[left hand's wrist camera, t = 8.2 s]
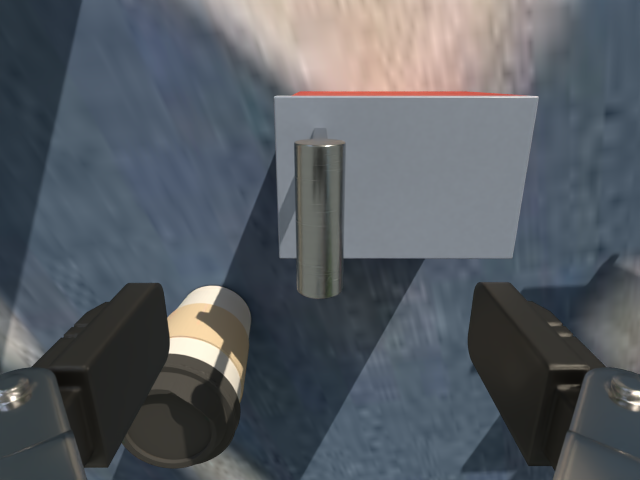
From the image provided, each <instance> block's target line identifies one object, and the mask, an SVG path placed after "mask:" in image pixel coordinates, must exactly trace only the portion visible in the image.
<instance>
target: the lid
mask: <svg viewBox="0 0 640 480" xmlns="http://www.w3.org/2000/svg"><path fill="white" fill-rule="evenodd" d="M538 99H539V97H537V96H275V97H274V120H275V149H276V177H277V206H278V235H279V258H296V265H297V290H298V292H299V293H300V294H301V295H303V296H306V297H309V298H314V299H326V298H331V297H334V296H337V295H338V294H340V293H341V292H342V290H343V261H344V258H389V259H512V256H513V250H514V244H515V238H516V232H517V226H518V220H519V214H520V208H521V202H522V196H523V190H524V183H525V177H526V171H527V165H528V159H529V153H530V147H531V141H532V135H533V129H534V123H535V117H536V111H537V105H538Z"/></svg>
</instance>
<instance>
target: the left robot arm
mask: <svg viewBox="0 0 640 480" xmlns="http://www.w3.org/2000/svg"><path fill="white" fill-rule="evenodd" d="M169 349H170V334H169V327H168V320H167V313H166V305H165V298H164V292H163V288H162V286H161V284H159V283H128V284H126V285H125V286H124V287H123V288H122V289H121V290H120V291H119V293H118V294H117V295H116V296H115V297H114V298H113V299H112V300H111V301H110V302H105V303H103V304H101V305H99V306H97V307H96V308H94V309H92V310H90V311H88V312H87V313H86V314H85V315H84V316H83V317H82V318H81V319H80V320H79V321H77V322H76V323H75V324H74V327H71V328H70V329H69V330H68V331H67V332H66V333H65V334H64V338H60V339H59V340H58V341H57V342H56V343H55V344H54V345H53V346H52V347H51V348H50V349H49V350H48V351H47V352H46V353H45V354H44V355H43V356H42V357H41V358H40V359H39V360H38V361H37V362H36V363H35V364H34V365H33V366H32V367H30V368H22V369H17V370H13V371H10V372H6V373H4V374H1V375H0V480H87V477H86V474H85V471H84V468H108V467H109V465H110V463H111V461H112V459H113V458H114V456H115V454H116V452H117V450H118V448H119V447H120V445H121V443H122V441H123V439H124V437H125V436H126V434H127V432H128V430H129V428H130V427H131V425H132V423H133V421H134V419H135V417H136V416H137V414H138V412H139V410H140V408H141V407H142V405H143V403H144V401H145V399H146V397H147V396H148V394H149V392H150V390H151V388H152V387H153V385H154V383H155V381H156V379H157V377H158V376H159V374H160V372H161V370H162V368H163V366H164V365H165V363H166V361H167V358H168V355H169ZM468 350H469V355H470V358H471V361H472V363H473V364H474V366H475V368H476V370H477V372H478V374H479V376H480V377H481V379H482V381H483V383H484V385H485V387H486V388H487V390H488V392H489V394H490V396H491V398H492V399H493V401H494V403H495V405H496V407H497V409H498V411H499V412H500V414H501V416H502V418H503V420H504V422H505V423H506V425H507V427H508V429H509V431H510V433H511V434H512V436H513V438H514V440H515V442H516V444H517V446H518V447H519V449H520V451H521V453H522V455H523V457H524V458H525V460H526V462H527V464H528V466H552V467H553V469H554V470H555V474H554V477H553V480H640V375H639V374H636V373H634V372H630V371H627V370H623V369H618V368H610V367H605V366H604V365H603V364H602V363H601V362H600V361H599V360H598V359H597V358H596V357H595V356H594V355H593V354H592V353H591V352H590V351H589V350H588V349H587V348H586V347H585V346H584V345H583V344H582V343H581V342H580V341H579V340H578V339H577V338H576V337H573V334H572V333H571V332H570V331H569V330H568V329H567V328H566V327H565V326H563V324H562V323H561V322H560V321H559V320H558V319H557V318H556V317H555V316H554V315H553V314H552V313H551V312H550V311H548V310H547V309H545V308H543V307H541V306H539V305H538V304H536V303H534V302H532V301H527V300H526V299H525V298H524V297H523V296H522V295H521V294H520V293H519V292H518V291H517V289H516V288H515V287H514V286H513V285H512V284H511V283H509V282H479V283H477V285H476V286H475V289H474V295H473V302H472V310H471V317H470V324H469V332H468Z"/></svg>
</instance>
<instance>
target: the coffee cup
mask: <svg viewBox="0 0 640 480" xmlns="http://www.w3.org/2000/svg"><path fill="white" fill-rule="evenodd" d="M167 320H168V327H169V334H170V349H169V355H168V358H167V361H166V363H165V365H164V366H163V368H162V370H161V372H160V374H159V376H158V377H157V379H156V381H155V383H154V385H153V387H152V388H151V390H150V392H149V394H148V396H147V397H146V399H145V401H144V403H143V405H142V407H141V408H140V410H139V412H138V414H137V416H136V417H135V419H134V421H133V423H132V425H131V427H130V428H129V430H128V432H127V434H126V436H125V437H124V439H123V441H122V444H123V445H124V447H125V448H126V449H127V450H128V451H129V452H130V453H132V454H133V455H134V456H136V457H137V458H139V459H140V460H142V461H144V462H146V463H149V464H151V465H155V466H158V467H163V468H184V467H189V466H192V465H195V464H200V463H203V462H206V461H208V460H210V459H213V458H214V457H216V456H218V455H219V454H220V453H222V452H223V451H224V450H225V449H226V448H227V447H228V445H229V444H230V442H231V441H232V439H233V436H234V433H235V430H236V428H237V426H238V423H239V420H240V401H241V399H242V395H243V388H244V381H245V373H246V366H247V358H248V351H249V333H250V326H251V314H250V311H249V308H248V306H247V304H246V303H245V301H244V300H243V299H242V298H241V297H240V296H239V295H238V294H236V293H235V292H233V291H231V290H229V289H227V288H224V287H220V286H205V287H201V288H198V289H196V290H194V291H193V292H191V293H190V294H189V295H188V296H187V297H186V298H185V300H184V301H183V302H182V303H181V305H180V306H179V307H178V308H177V309H176V310H175V311H174V312H173V313H172V314H170V316H169V317H168V318H167Z"/></svg>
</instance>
